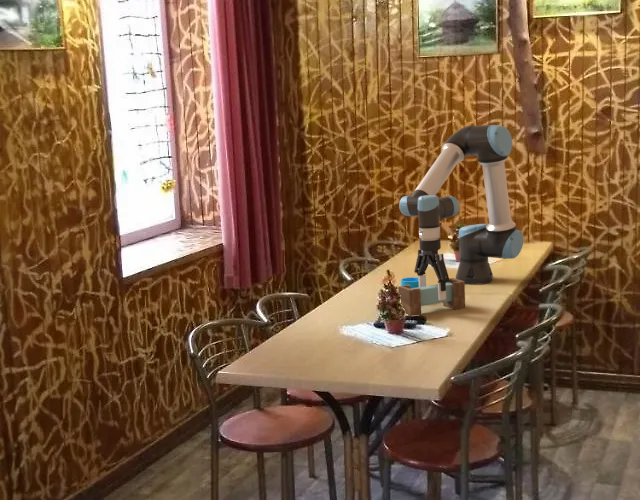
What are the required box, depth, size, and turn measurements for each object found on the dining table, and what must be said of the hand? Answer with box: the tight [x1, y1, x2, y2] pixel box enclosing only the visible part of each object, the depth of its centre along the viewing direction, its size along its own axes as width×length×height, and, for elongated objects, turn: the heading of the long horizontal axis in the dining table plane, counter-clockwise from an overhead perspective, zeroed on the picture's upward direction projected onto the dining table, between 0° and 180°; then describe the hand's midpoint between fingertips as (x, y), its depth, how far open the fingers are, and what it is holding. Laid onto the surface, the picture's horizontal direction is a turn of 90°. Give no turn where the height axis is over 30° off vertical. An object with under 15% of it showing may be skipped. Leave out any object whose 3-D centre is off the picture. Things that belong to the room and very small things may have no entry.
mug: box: [400, 276, 419, 288], centre depth 359 cm, size 12×8×8 cm
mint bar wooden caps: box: [397, 277, 466, 316], centre depth 340 cm, size 23×8×10 cm, turn 114°
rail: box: [411, 282, 453, 307], centre depth 339 cm, size 18×4×6 cm, turn 114°
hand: (432, 296), depth 340 cm, fingers open, 13 cm apart
